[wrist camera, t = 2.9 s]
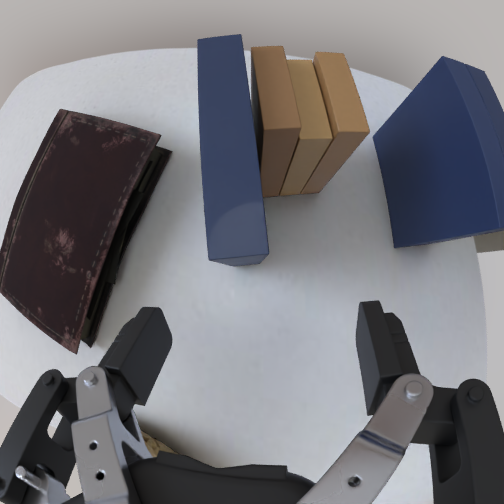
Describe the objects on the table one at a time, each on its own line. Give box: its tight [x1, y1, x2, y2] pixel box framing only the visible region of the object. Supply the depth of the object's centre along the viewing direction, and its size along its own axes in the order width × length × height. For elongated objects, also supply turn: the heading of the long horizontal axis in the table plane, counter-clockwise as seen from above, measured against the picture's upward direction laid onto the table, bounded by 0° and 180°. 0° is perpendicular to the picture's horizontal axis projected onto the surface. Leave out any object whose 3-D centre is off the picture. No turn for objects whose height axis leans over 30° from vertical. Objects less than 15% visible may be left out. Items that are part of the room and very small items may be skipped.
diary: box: [0, 109, 172, 354], centre depth 28 cm, size 19×25×5 cm
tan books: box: [251, 46, 370, 197], centre depth 23 cm, size 7×7×16 cm
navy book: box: [198, 34, 269, 266], centre depth 22 cm, size 3×14×17 cm, turn 6°
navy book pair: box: [373, 56, 504, 248], centre depth 22 cm, size 6×14×17 cm, turn 6°
